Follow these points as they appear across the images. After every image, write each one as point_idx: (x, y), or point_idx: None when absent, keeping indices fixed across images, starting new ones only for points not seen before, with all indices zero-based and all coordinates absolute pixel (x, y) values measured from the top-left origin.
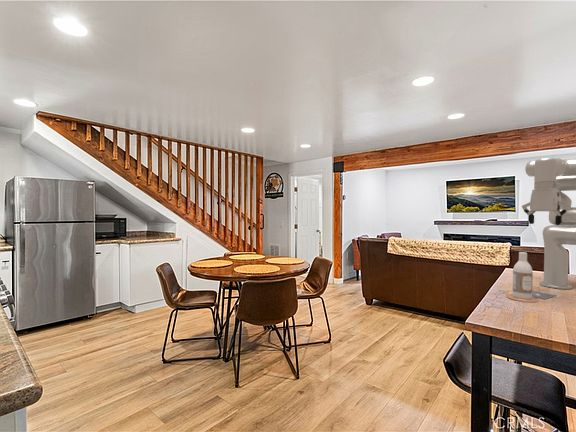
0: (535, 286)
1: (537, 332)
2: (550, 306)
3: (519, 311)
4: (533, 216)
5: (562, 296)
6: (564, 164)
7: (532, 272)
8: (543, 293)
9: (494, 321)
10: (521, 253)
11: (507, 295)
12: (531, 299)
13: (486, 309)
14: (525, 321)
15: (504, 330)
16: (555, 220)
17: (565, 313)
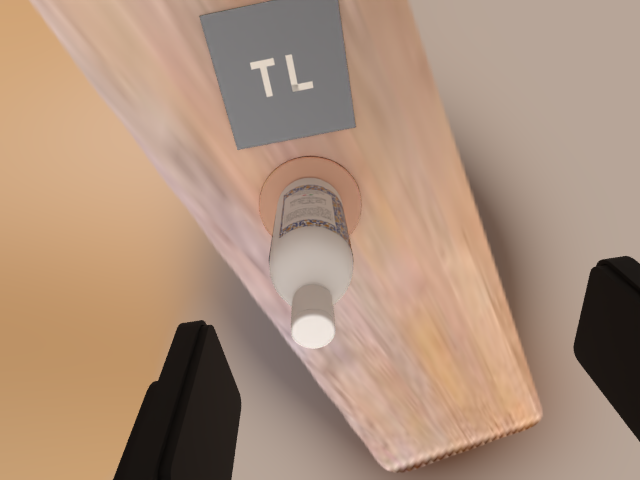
0: None
1: (486, 419)
2: (412, 209)
3: (394, 338)
4: (190, 474)
5: None
6: None
7: (350, 248)
8: (289, 14)
9: (408, 435)
10: (316, 346)
11: (270, 232)
12: (343, 203)
13: (344, 391)
14: (442, 387)
15: (446, 454)
16: (620, 415)
17: (471, 244)
